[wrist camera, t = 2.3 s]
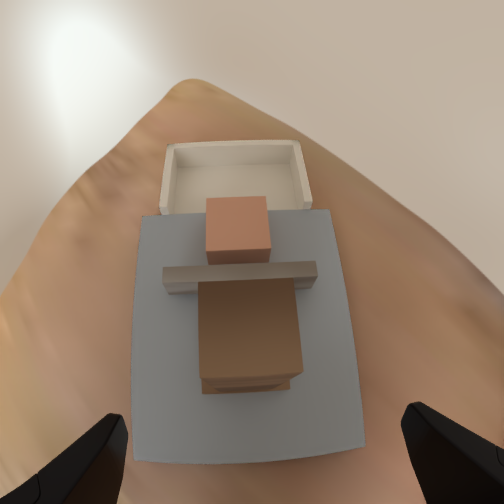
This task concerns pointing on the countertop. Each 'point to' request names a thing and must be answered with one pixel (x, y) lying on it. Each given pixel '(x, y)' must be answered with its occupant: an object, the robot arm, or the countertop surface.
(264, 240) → the tile
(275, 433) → the board
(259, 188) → the tray
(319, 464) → the countertop surface
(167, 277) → the scraper
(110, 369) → the countertop surface
